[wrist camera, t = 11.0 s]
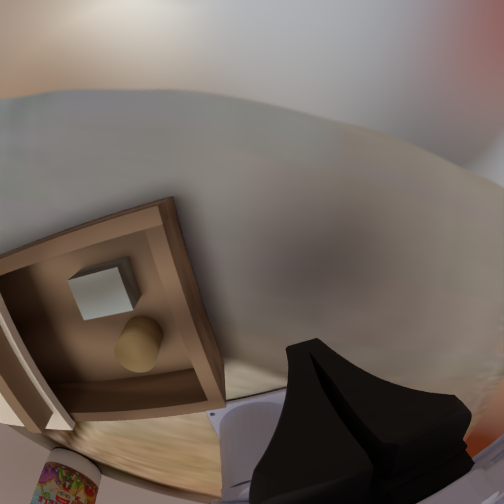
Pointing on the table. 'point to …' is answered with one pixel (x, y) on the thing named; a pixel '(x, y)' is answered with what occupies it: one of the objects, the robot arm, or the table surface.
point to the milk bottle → (67, 479)
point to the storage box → (116, 317)
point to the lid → (25, 385)
